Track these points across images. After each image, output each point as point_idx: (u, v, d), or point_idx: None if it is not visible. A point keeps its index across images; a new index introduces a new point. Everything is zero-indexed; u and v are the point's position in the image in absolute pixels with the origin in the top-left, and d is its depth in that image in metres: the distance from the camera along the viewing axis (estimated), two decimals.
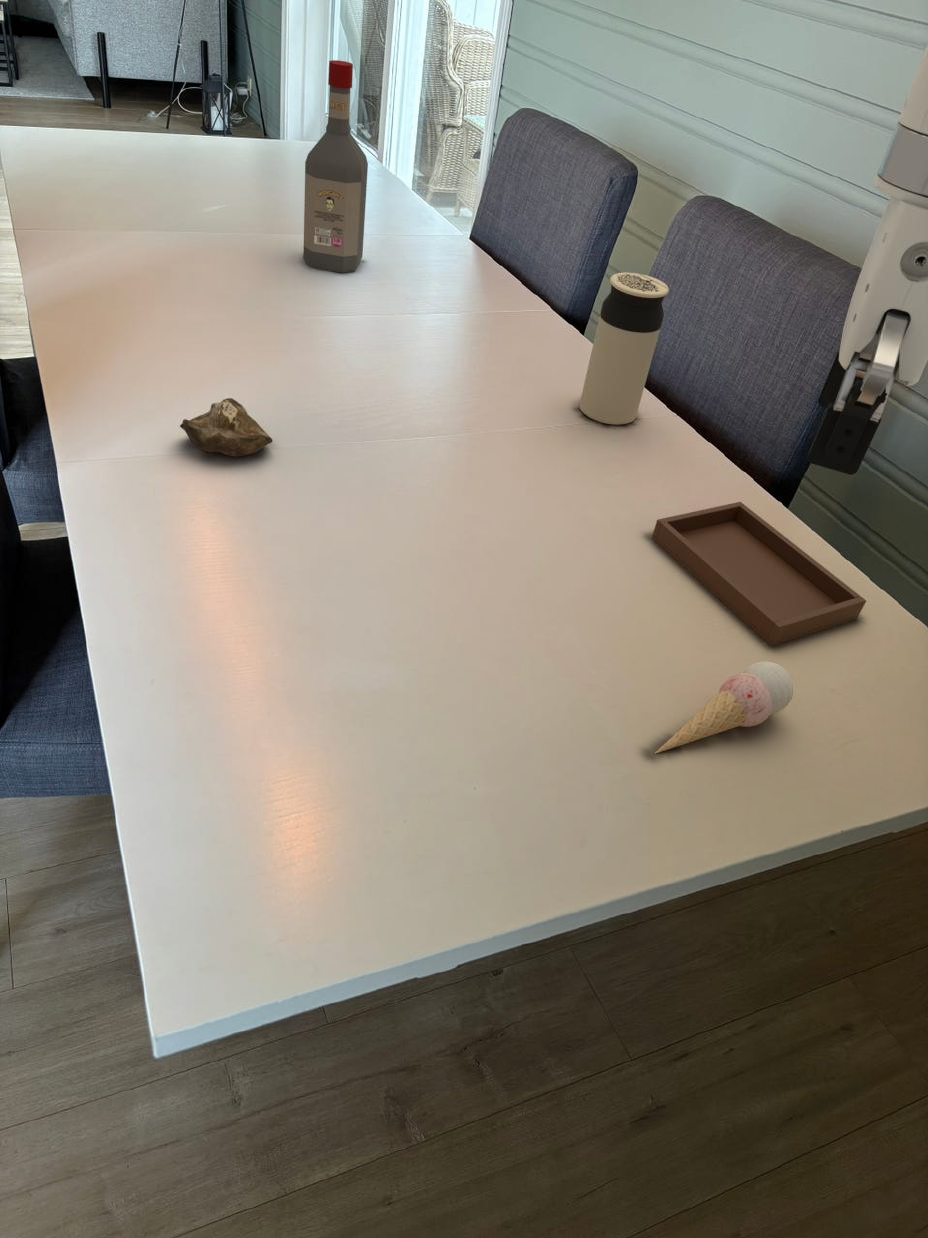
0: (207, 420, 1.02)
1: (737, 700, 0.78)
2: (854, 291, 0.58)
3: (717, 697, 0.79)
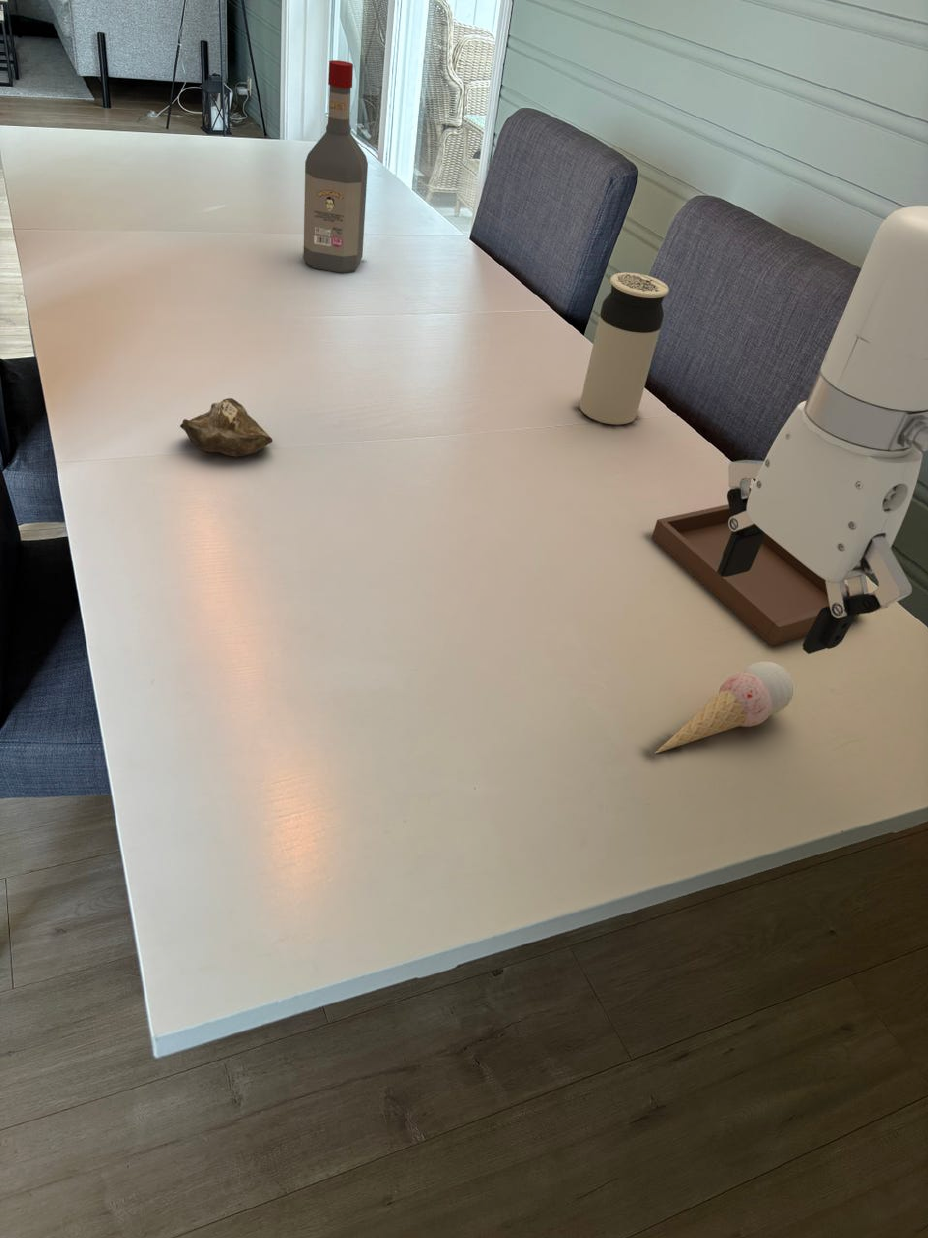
0: (207, 420, 1.02)
1: (737, 700, 0.78)
2: (792, 509, 0.65)
3: (717, 697, 0.79)
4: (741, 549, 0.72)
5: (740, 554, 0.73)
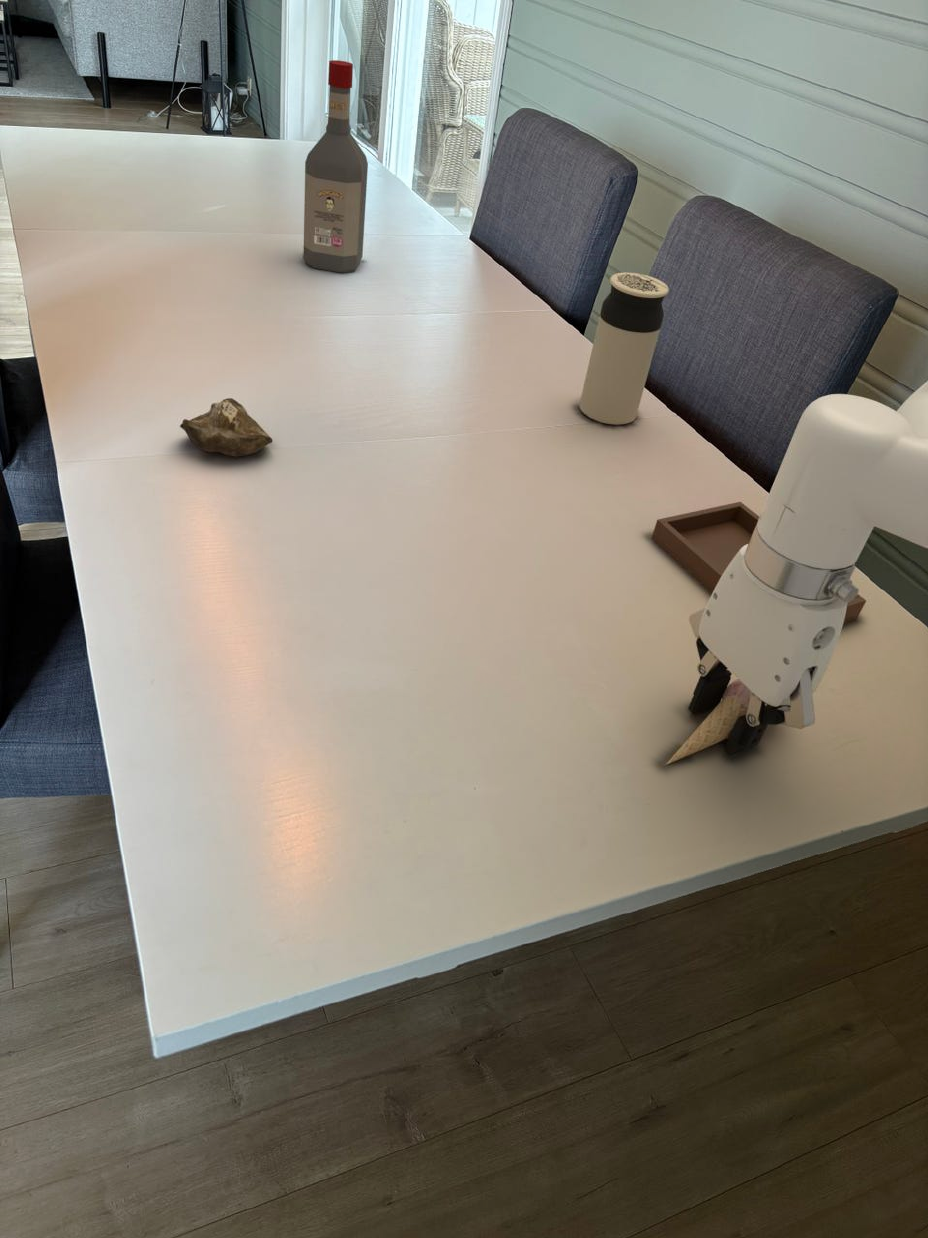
0: (207, 420, 1.02)
1: (743, 705, 0.78)
2: (736, 639, 0.73)
3: (722, 703, 0.79)
4: (709, 691, 0.79)
5: (708, 695, 0.80)
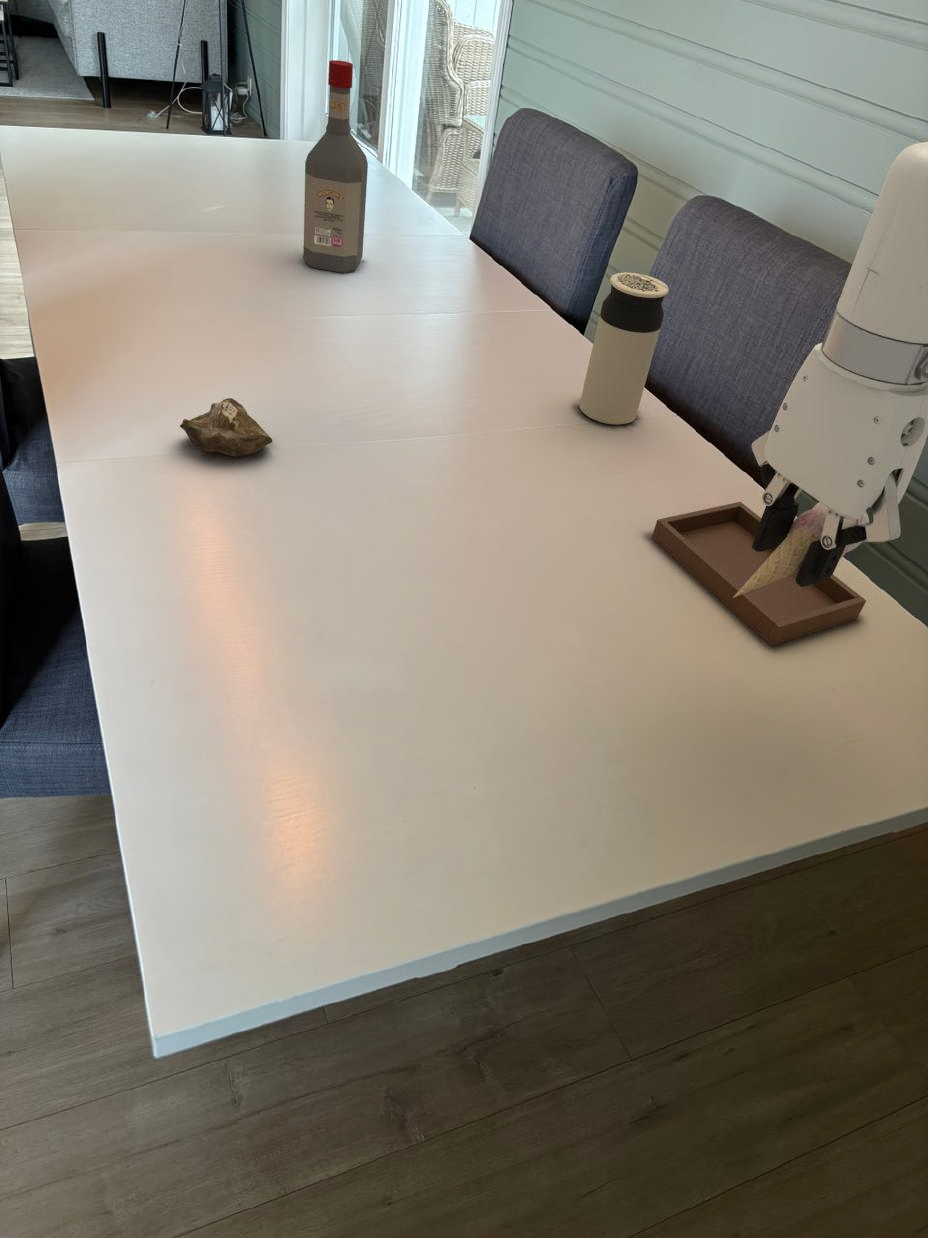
0: (207, 420, 1.02)
1: (814, 535, 0.71)
2: (810, 449, 0.66)
3: (791, 535, 0.72)
4: (776, 523, 0.73)
5: (774, 528, 0.73)
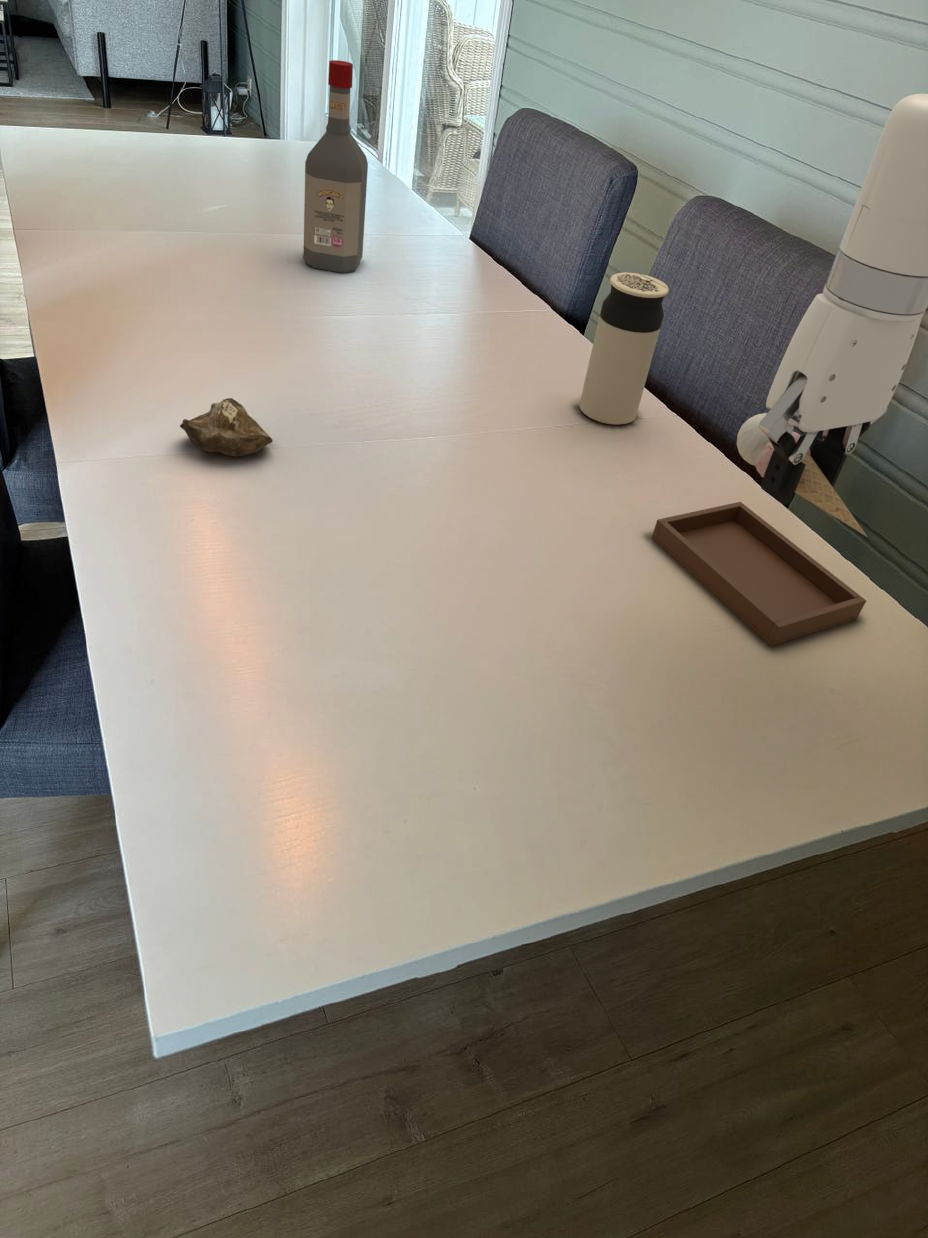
0: (207, 420, 1.02)
1: (808, 454, 0.79)
2: (859, 393, 0.72)
3: None
4: None
5: None
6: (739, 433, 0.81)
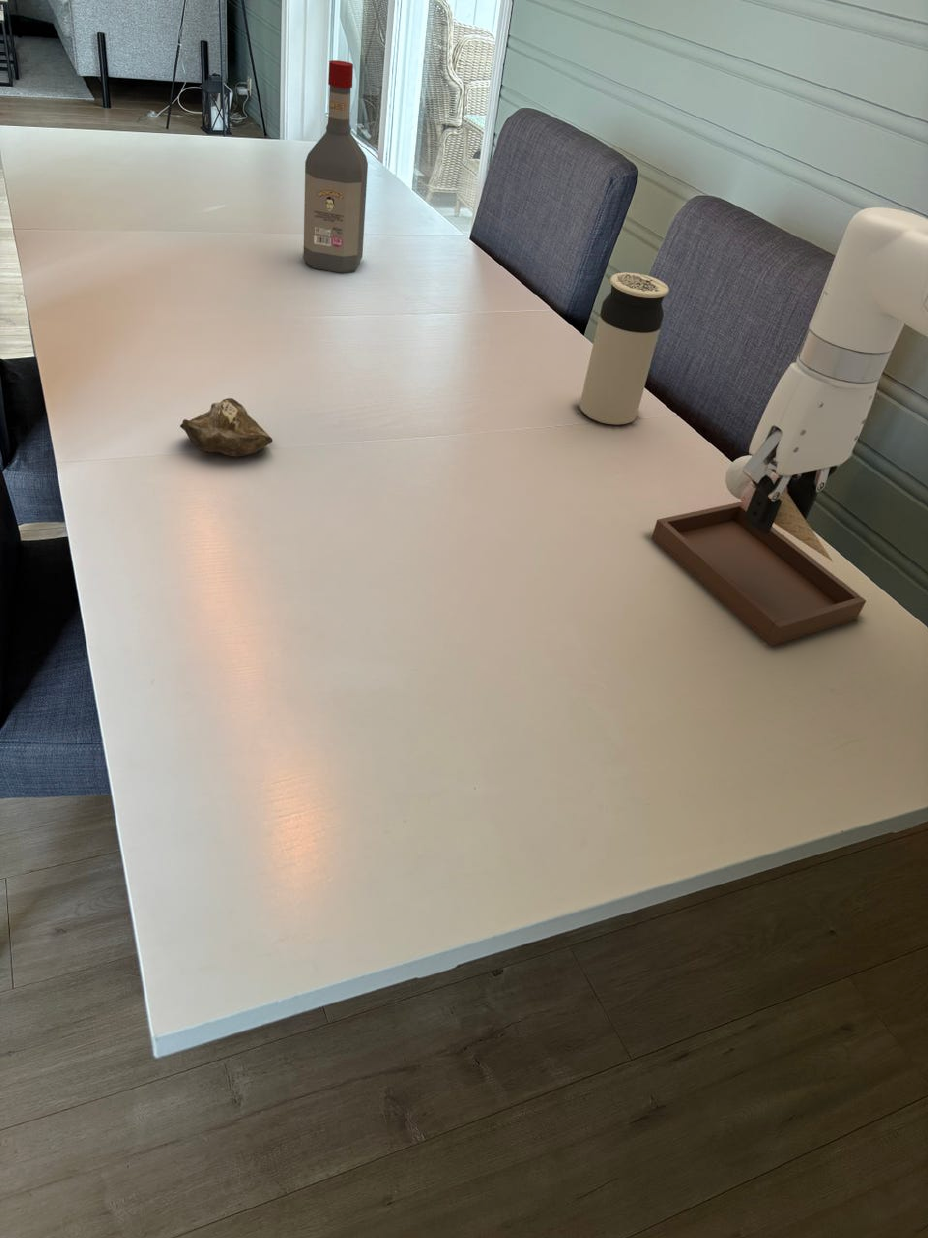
0: (207, 420, 1.02)
1: (785, 491, 0.94)
2: (826, 444, 0.86)
3: None
4: None
5: None
6: (727, 472, 0.96)
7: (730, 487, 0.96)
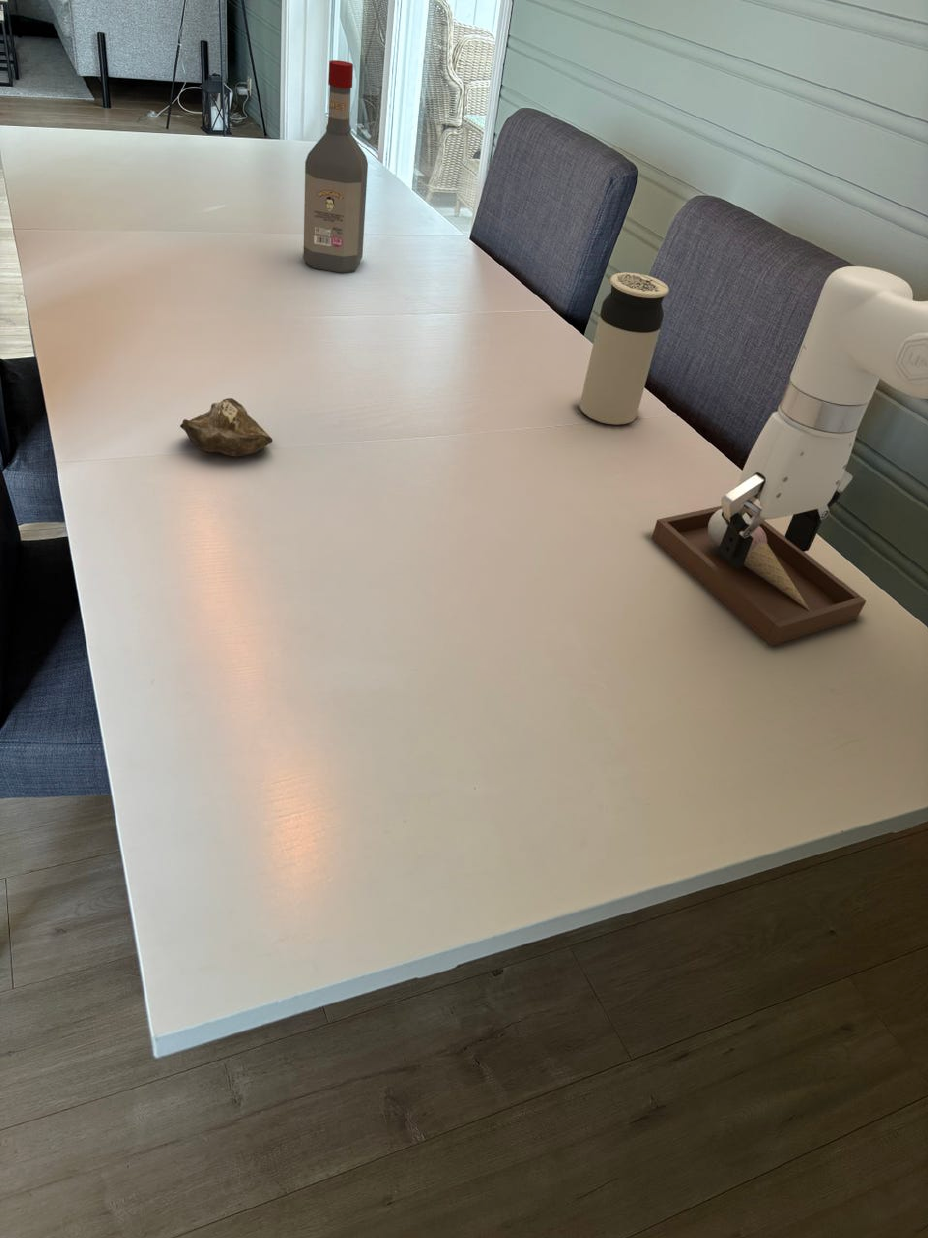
0: (207, 420, 1.02)
1: (765, 542, 0.98)
2: (808, 489, 0.90)
3: (759, 554, 0.97)
4: None
5: None
6: (709, 522, 1.00)
7: (712, 537, 1.00)
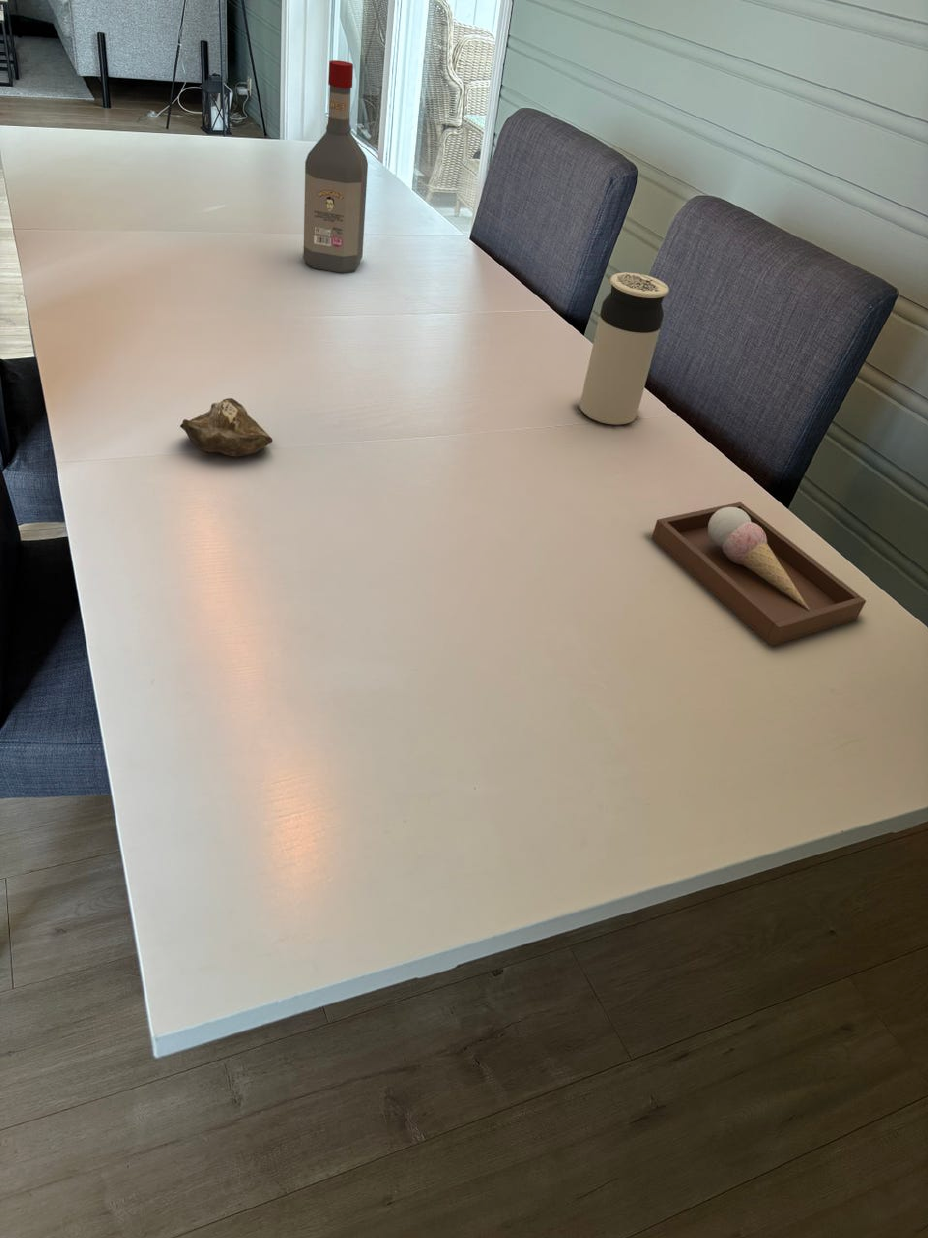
0: (207, 420, 1.02)
1: (765, 542, 0.98)
2: None
3: (759, 554, 0.97)
4: None
5: None
6: (709, 522, 1.00)
7: (712, 537, 1.00)
